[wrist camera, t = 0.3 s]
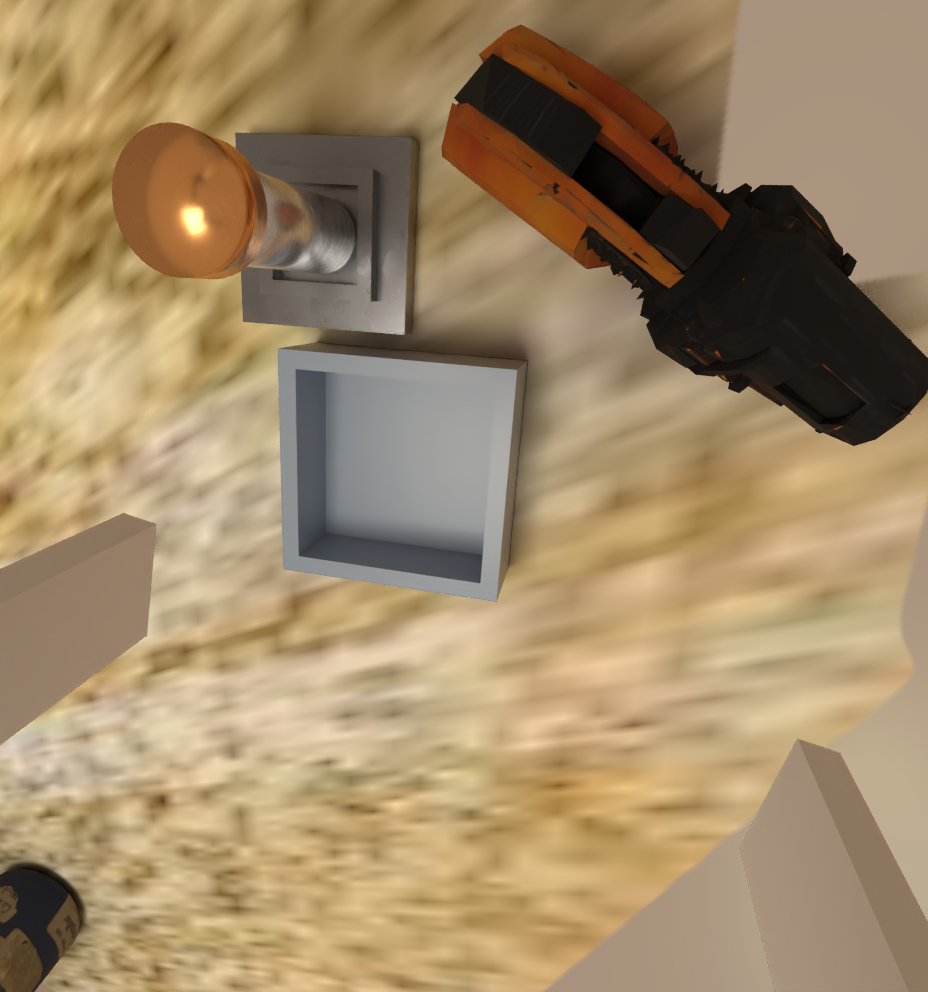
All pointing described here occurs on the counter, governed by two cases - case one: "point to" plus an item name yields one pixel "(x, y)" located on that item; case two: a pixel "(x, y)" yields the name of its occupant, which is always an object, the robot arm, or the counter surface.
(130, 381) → the counter surface
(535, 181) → the tool
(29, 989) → the canister
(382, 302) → the collar plate
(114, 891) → the counter surface
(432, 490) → the bin
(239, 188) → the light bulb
